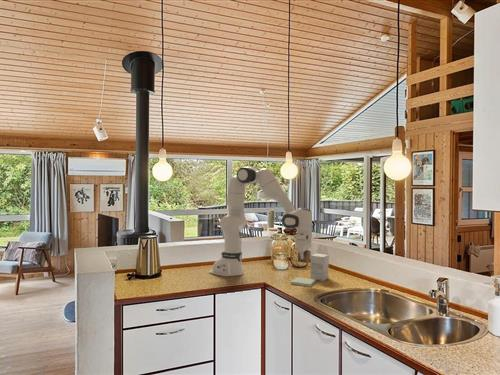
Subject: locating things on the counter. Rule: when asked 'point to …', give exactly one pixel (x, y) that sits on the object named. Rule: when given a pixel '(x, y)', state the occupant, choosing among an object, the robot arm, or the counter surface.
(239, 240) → the robot arm
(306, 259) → the block
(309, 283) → the plate
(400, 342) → the counter surface
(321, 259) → the supplement box
